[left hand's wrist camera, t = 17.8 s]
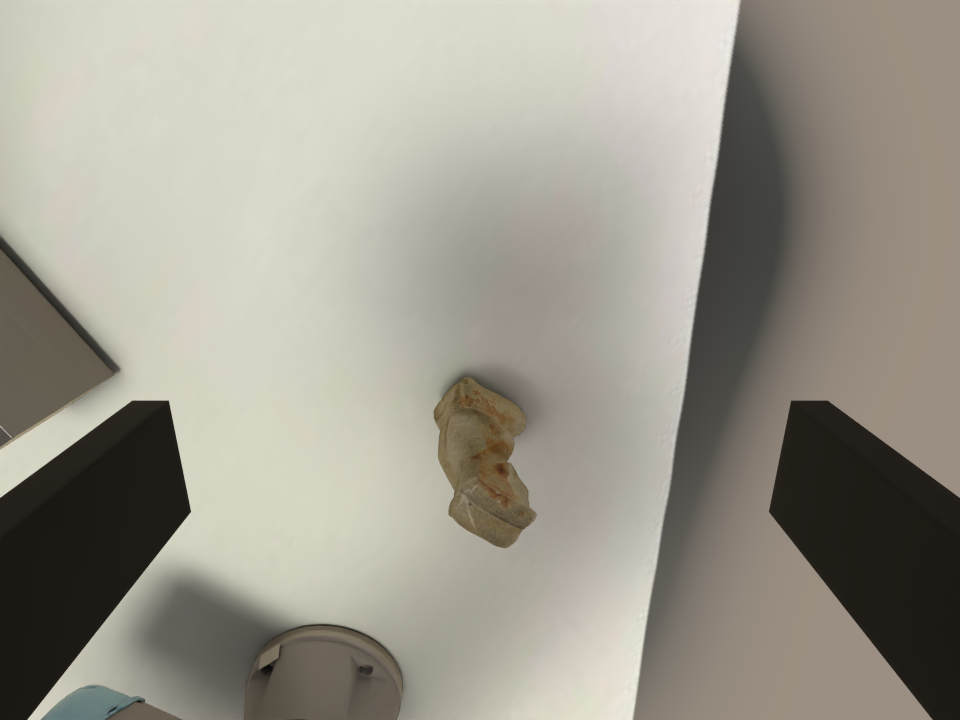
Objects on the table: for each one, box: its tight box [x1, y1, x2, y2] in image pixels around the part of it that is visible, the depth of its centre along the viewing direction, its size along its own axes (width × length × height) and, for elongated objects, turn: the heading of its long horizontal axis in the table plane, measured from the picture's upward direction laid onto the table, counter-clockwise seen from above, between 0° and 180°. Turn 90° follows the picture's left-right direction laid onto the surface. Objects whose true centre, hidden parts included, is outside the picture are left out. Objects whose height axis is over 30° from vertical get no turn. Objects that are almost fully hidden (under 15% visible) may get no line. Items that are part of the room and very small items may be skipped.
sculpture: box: [434, 377, 536, 548], centre depth 42 cm, size 6×7×15 cm
